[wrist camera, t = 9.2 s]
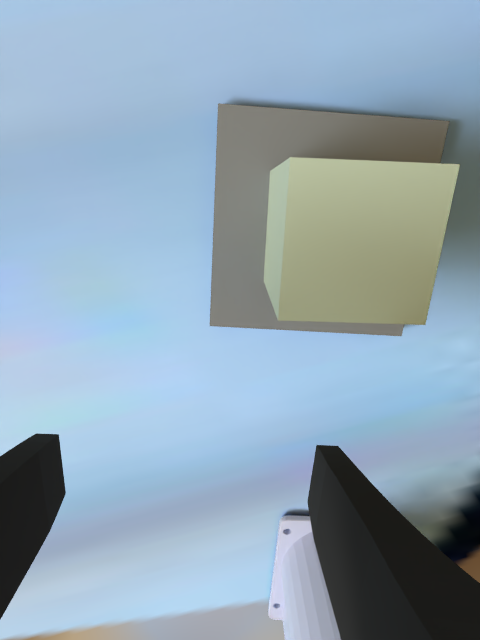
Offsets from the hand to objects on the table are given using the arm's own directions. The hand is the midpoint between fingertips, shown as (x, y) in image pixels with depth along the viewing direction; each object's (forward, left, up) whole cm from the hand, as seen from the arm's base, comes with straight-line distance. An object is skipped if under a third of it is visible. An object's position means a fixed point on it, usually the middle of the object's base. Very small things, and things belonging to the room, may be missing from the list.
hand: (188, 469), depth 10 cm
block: (+6, -5, -9) cm, 12 cm away
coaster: (+6, -5, -10) cm, 13 cm away
